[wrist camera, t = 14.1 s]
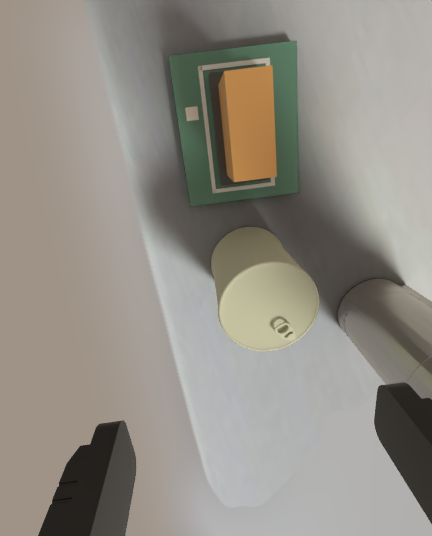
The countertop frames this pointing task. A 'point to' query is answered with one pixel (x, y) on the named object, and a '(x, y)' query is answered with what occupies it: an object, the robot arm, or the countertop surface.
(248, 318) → the can
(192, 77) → the header board
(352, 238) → the countertop surface
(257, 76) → the block
